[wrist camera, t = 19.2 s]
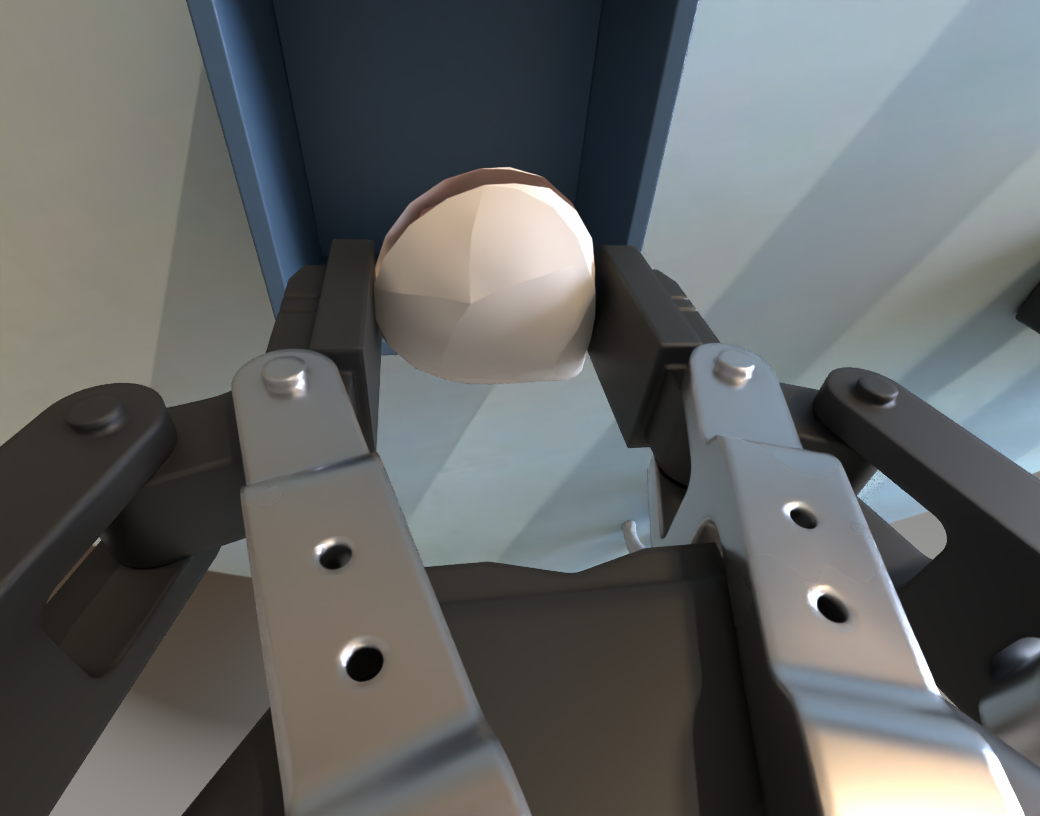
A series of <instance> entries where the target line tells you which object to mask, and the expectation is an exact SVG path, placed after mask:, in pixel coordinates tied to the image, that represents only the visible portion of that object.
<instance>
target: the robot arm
mask: <svg viewBox="0 0 1040 816" xmlns="http://www.w3.org/2000/svg"><path fill="white" fill-rule="evenodd" d="M594 264H595V320H594V325H593V331H592V336H591V340H590V343H589V347H588V350H587V352H588V354H589V356H590V359H591V361H592V364H593V366H594V368H595V371H596V373H597V375H598V378H599V380H600V383H601V385H602V387H603V390H604V392H605V395H606V397H607V399H608V402H609V404H610V407H611V409H612V411H613V414H614V416H615V419H616V421H617V423H618V426H619V428H620V431H621V433H622V435H623V438H624V440H625V443H626V445H627V447H628V448H641V447H651V450H652V452H653V456H652V459H651V461H650V464H649V467H648V470H647V479H648V498H649V517H650V537H651V548H644V549H641V550H638V551H636V552H633V553H630V554H627V555H625V556H622V557H619V558H616V559H614V560H611V561H608V562H605V563H603V564H600V565H597V566H594V567H592V568H589V569H586V570H584V571H580V572H577V573H564V572H557V571H550V570H543V569H536V568H529V567H522V566H515V565H509V564H502V563H495V562H478V563H467V564H455V565H444V566H432V567H424V565H423V563H422V560H421V558H420V555H419V553H418V550H417V548H416V545H415V543H414V540H413V538H412V535H411V532H410V530H409V527H408V525H407V522H406V520H405V517H404V515H403V512H402V510H401V507H400V505H399V502H398V500H397V497H396V495H395V492H394V490H393V487H392V485H391V482H390V480H389V477H388V475H387V472H386V469H385V467H384V465H383V462H382V460H381V458H380V456H379V454H378V453H377V452H376V447H377V427H378V406H379V386H380V366H381V345H382V336H381V334H380V331H379V328H378V325H377V322H376V317H375V304H374V290H373V287H374V284H375V282H376V273H375V266H376V254H375V245H374V240H366V239H333V240H332V244H331V249H330V254H329V258H328V263H327V265H304V266H303V267H302V268H301V269H300V270H298V271H297V272H296V273H295V274H294V275H293V276H291V277H290V278H289V279H288V283H287V286H286V289H285V292H284V298H283V299H282V302H281V305H280V312H278V315H277V318H276V321H275V324H274V328H273V331H272V334H271V337H270V341H269V344H268V347H267V350H266V353H265V354H263V355H260V356H258V357H256V358H254V359H252V360H250V361H249V362H247V363H246V364H244V365H243V366H242V367H241V368H240V369H239V370H238V371H237V372H236V374H235V375H234V377H233V380H232V383H231V389H232V390H231V391H229V392H227V393H224V394H222V395H219V396H216V397H212V398H208V399H204V400H200V401H196V402H191V403H187V404H182V405H178V406H174V407H169V408H166V406H165V404H164V402H163V399H162V397H161V396H160V395H159V394H158V393H157V392H156V391H155V390H153V389H151V388H149V387H146V386H143V385H139V384H132V383H113V384H105V385H100V386H95V387H91V388H87V389H84V390H81V391H78V392H76V393H73V394H71V395H69V396H67V397H64V398H62V399H61V400H59V401H57V402H56V403H54V404H52V405H51V406H50V407H48V408H47V409H46V410H44V411H43V412H42V413H41V414H39V415H38V416H37V417H36V418H35V419H33V420H32V421H31V422H30V423H29V424H27V425H26V426H25V427H24V428H22V429H21V430H20V431H19V432H18V433H16V434H15V435H14V436H13V437H12V438H10V439H9V440H8V441H7V442H6V443H4V444H3V445H2V446H1V447H0V816H49V814H50V812H51V811H52V809H53V808H54V806H55V805H56V803H57V802H58V800H59V799H60V797H61V795H62V794H63V792H64V791H65V789H66V788H67V786H68V785H69V783H70V782H71V780H72V778H73V777H74V775H75V774H76V772H77V770H78V769H79V768H80V766H81V765H82V763H83V761H84V760H85V758H86V757H87V755H88V754H89V752H90V751H91V749H92V748H93V746H94V744H95V743H96V741H97V740H98V738H99V737H100V735H101V733H102V732H103V731H104V729H105V727H106V726H107V724H108V723H109V721H110V720H111V718H112V717H113V715H114V714H115V712H116V710H117V709H118V707H119V706H120V704H121V703H122V701H123V700H124V698H125V696H126V695H127V693H128V692H129V690H130V689H131V687H132V686H133V684H134V683H135V681H136V679H137V678H138V676H139V675H140V673H141V672H142V670H143V669H144V667H145V666H146V664H147V662H148V661H149V659H150V658H151V656H152V655H153V653H154V652H155V650H156V649H157V647H158V645H159V644H160V642H161V641H162V639H163V637H164V636H165V635H166V633H167V631H168V630H169V628H170V627H171V625H172V624H173V622H174V621H175V619H176V618H177V616H178V615H179V613H180V611H181V610H182V608H183V607H184V605H185V604H186V602H187V601H188V599H189V598H190V596H191V594H192V593H193V591H194V590H195V588H196V587H197V585H198V584H199V582H200V580H201V579H202V577H203V576H204V574H205V573H206V571H207V570H208V568H209V567H210V565H211V564H212V562H213V560H214V559H215V557H216V556H217V554H218V552H219V550H220V548H221V546H223V545H226V544H229V543H232V542H235V541H238V540H241V539H244V538H246V540H247V547H248V554H249V561H250V568H251V575H252V582H253V588H254V596H255V603H256V609H257V617H258V623H259V631H260V637H261V645H262V652H263V658H264V665H265V672H266V678H267V686H268V693H269V700H270V708H269V709H268V710H267V711H266V713H265V714H264V715H263V716H262V717H261V719H260V720H259V721H258V722H257V723H256V725H255V726H254V727H253V729H252V730H251V731H250V732H249V733H248V735H247V736H246V737H245V738H244V740H243V741H242V742H241V743H240V745H239V746H238V747H237V748H236V749H235V750H234V752H233V753H232V754H231V756H230V757H229V758H228V759H227V760H226V762H225V763H224V764H223V765H222V766H221V768H220V769H219V770H218V771H217V773H216V774H215V775H214V776H213V778H212V779H211V780H210V781H209V782H208V784H207V785H206V786H205V787H204V789H203V790H202V791H201V792H200V794H199V795H198V796H197V797H196V799H195V800H194V801H193V802H192V803H191V805H190V806H189V807H188V808H187V809H186V811H185V812H184V813H183V814H182V816H1040V480H1039V479H1038V478H1036V477H1035V476H1033V475H1032V474H1030V473H1029V472H1027V471H1026V470H1025V469H1023V468H1022V467H1020V466H1019V465H1017V464H1016V463H1014V462H1013V461H1011V460H1010V459H1008V458H1007V457H1005V456H1004V455H1002V454H1001V453H1000V452H998V451H997V450H995V449H994V448H992V447H991V446H989V445H988V444H986V443H985V442H983V441H982V440H980V439H979V438H977V437H976V436H975V435H973V434H972V433H970V432H969V431H967V430H966V429H964V428H963V427H961V426H960V425H958V424H957V423H955V422H954V421H952V420H951V419H950V418H948V417H947V416H945V415H944V414H942V413H941V412H939V411H938V410H936V409H935V408H933V407H932V406H930V405H929V404H927V403H926V402H925V401H923V400H922V399H920V398H919V397H917V396H916V395H914V394H913V393H911V392H910V391H908V390H907V389H905V388H904V387H902V386H901V385H899V384H898V383H896V382H895V381H893V380H891V379H889V378H887V377H885V376H883V375H880V374H878V373H875V372H872V371H869V370H865V369H860V368H851V367H845V368H838V369H835V370H833V371H832V372H830V373H829V375H828V377H827V378H826V380H825V382H824V383H823V385H822V386H821V388H820V390H816V389H811V388H806V387H800V386H795V385H790V384H785V383H780V382H779V381H778V378H777V375H776V373H775V371H774V370H773V368H772V367H771V366H770V365H769V364H768V363H767V362H766V361H765V360H764V359H763V358H761V357H760V356H758V355H757V354H755V353H753V352H751V351H749V350H747V349H744V348H741V347H738V346H735V345H730V344H724V343H720V341H719V340H718V339H717V337H716V336H715V334H714V333H713V332H712V330H711V329H710V328H709V326H708V325H707V324H706V322H705V321H704V319H703V318H702V317H701V315H700V314H699V313H698V311H695V307H694V306H693V304H692V303H691V302H690V300H687V296H686V295H685V294H684V292H683V291H682V290H681V288H680V287H679V285H678V284H677V283H676V282H675V281H673V280H672V279H671V278H669V277H668V276H666V275H665V274H663V273H662V272H660V271H659V270H652V269H651V267H650V266H649V264H648V263H647V262H646V260H645V259H644V257H643V256H642V254H641V253H640V251H639V250H638V249H637V247H636V246H630V245H598V246H597V247H596V249H595V251H594ZM877 470H879V471H881V472H882V473H883V474H884V475H886V476H887V477H888V478H889V479H890V480H892V481H893V482H894V483H895V484H897V485H898V486H899V487H900V488H901V489H903V490H904V491H905V492H906V493H908V494H909V495H910V496H911V497H912V498H914V499H915V500H916V501H917V502H919V503H920V504H921V505H922V506H923V507H925V508H926V509H927V510H928V511H930V512H931V513H932V514H933V515H934V516H936V517H937V518H938V520H939V521H940V522H941V523H942V525H943V527H944V529H945V531H946V534H947V543H946V546H945V548H944V550H943V551H942V552H941V553H940V554H939V555H937V556H936V557H935V558H934V559H933V560H932V559H930V558H928V557H926V556H925V555H923V554H922V553H921V552H920V551H919V550H917V549H916V548H915V547H914V546H913V545H912V544H911V543H910V542H908V541H907V540H906V539H905V538H904V537H903V536H901V535H900V534H899V533H898V532H897V531H896V530H895V529H894V528H892V527H891V526H890V525H889V524H888V523H887V522H886V521H885V520H883V519H882V518H881V517H880V516H879V515H878V514H877V513H875V512H874V511H873V510H872V509H871V508H870V507H869V506H868V505H866V504H865V503H864V502H863V501H862V500H861V499H860V498H858V497H857V495H858V493H859V492H860V491H861V490H862V488H863V487H864V486H865V485H866V484H867V482H868V481H869V480H870V479H871V477H872V476H873V475H874V474H875V472H876V471H877ZM99 537H100V538H101V541H100V542H99V544H98V545H97V546H96V547H95V548H94V549H93V551H92V552H91V553H90V554H89V555H88V556H87V558H86V559H85V560H84V561H83V562H82V564H81V565H80V566H79V567H78V568H77V569H76V570H75V572H74V573H73V574H72V575H71V576H70V578H69V579H68V580H67V581H66V582H65V584H63V586H62V587H61V588H60V589H59V590H58V591H57V593H56V594H55V595H54V596H53V597H52V599H51V600H50V601H49V602H48V603H47V600H48V598H49V596H50V595H51V593H52V592H53V590H54V589H55V588H56V586H57V585H58V584H59V583H60V582H61V580H62V579H63V578H64V577H65V576H66V575H67V573H68V572H69V571H70V570H71V569H72V567H73V566H74V565H75V564H76V563H77V562H78V561H79V559H80V558H81V557H82V556H83V555H84V554H85V553H86V551H87V550H88V549H89V548H90V547H91V546H92V544H93V543H94V542H95V541H96V540H97V539H98V538H99ZM46 603H47V604H46ZM45 605H46V606H45ZM936 686H937V687H938V688H939V689H940V690H941V691H942V692H943V693H944V694H945V695H946V696H947V697H948V698H949V699H950V700H951V701H952V702H953V703H954V704H955V705H956V706H957V707H958V708H959V709H960V710H959V709H957V708H956V707H955V706H954V705H952V704H951V703H950V702H948V701H947V700H945V699H944V698H943V697H941V695H940V694H939V691H938V689H937V687H936Z"/></svg>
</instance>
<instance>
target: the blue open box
mask: <svg viewBox="0 0 1040 816" xmlns="http://www.w3.org/2000/svg"><path fill="white" fill-rule="evenodd" d="M186 2H187V5H188V9H189V13H190V16H191V20H192V23H193V27H194V30H195V34H196V38H197V41H198V45H199V48H200V52H201V55H202V59H203V63H204V66H205V70H206V73H207V77H208V81H209V84H210V88H211V91H212V95H213V98H214V102H215V106H216V109H217V113H218V116H219V120H220V123H221V127H222V131H223V134H224V138H225V141H226V145H227V148H228V152H229V156H230V159H231V163H232V166H233V170H234V174H235V177H236V181H237V184H238V188H239V191H240V195H241V199H242V202H243V206H244V209H245V213H246V216H247V220H248V224H249V227H250V231H251V234H252V238H253V241H254V245H255V249H256V252H257V256H258V259H259V263H260V266H261V270H262V274H263V277H264V281H265V284H266V288H267V292H268V295H269V299H270V302H271V306H272V309H273V313H274V317H275V320H276V318H277V315H278V312H280V305H281V302H282V299H283V298H284V292H285V289H286V286H287V283H288V279H289V278H290V277H291V276H293V275H294V274H295V273H296V272H297V271H298V270H300V269H301V268H302V267H303V266H304V265H327V263H328V258H329V254H330V249H331V244H332V240H333V239H366V240H374V245H375V254H376V263H377V260H378V257H379V254H380V251H381V248H382V245H383V242H384V239H385V236H386V235H387V233H388V232H389V231H390V229H391V228H392V227H393V225H394V224H395V223H396V221H397V220H398V219H399V217H400V216H401V214H402V213H403V212H404V210H405V209H406V208H407V206H408V205H409V204H410V203H411V202H413V201H414V200H415V199H417V198H418V197H420V196H421V195H423V194H424V193H426V192H427V191H428V190H430V189H431V188H433V187H434V186H436V185H437V184H439V183H440V182H442V181H443V180H444V179H448V178H451V177H454V176H457V175H461V174H464V173H467V172H470V171H474V170H477V169H481V168H501V167H511V168H514V169H518V170H521V171H524V172H528V173H531V174H535V175H538V176H542V177H544V178H545V179H547V180H548V181H549V182H550V183H551V184H552V185H553V186H554V187H555V188H556V189H557V190H559V191H560V192H561V193H562V194H563V195H564V196H565V197H566V198H567V199H568V200H569V201H571V202H572V204H573V206H574V207H575V209H576V211H577V213H578V215H579V216H580V218H581V220H582V222H583V224H584V225H585V227H586V229H587V231H588V232H589V234H590V236H591V238H592V244H593V254H594V251H595V249H596V247H597V246H598V245H630V246H636V247H637V249H638V250H639V251H640V253H641V251H642V247H643V242H644V238H645V234H646V229H647V225H648V221H649V216H650V212H651V208H652V203H653V199H654V195H655V190H656V186H657V182H658V177H659V173H660V169H661V164H662V160H663V156H664V151H665V147H666V142H667V138H668V134H669V129H670V125H671V121H672V116H673V112H674V108H675V103H676V99H677V95H678V90H679V86H680V82H681V77H682V73H683V69H684V64H685V60H686V56H687V51H688V47H689V43H690V38H691V34H692V30H693V25H694V21H695V17H696V12H697V8H698V4H699V0H186ZM381 355H399V354H398V353H396V352H395V351H394V350H393V349H391V348H390V347H389V346H388V344H387V343H386V342H385V340H384V339H383V338H382V345H381Z"/></svg>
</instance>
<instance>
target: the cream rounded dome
mask: <svg viewBox="0 0 1040 816" xmlns="http://www.w3.org/2000/svg"><path fill="white" fill-rule="evenodd" d="M375 273H376V282H375V284H374V287H373V290H374V304H375V317H376V322H377V325H378V328H379V331H380V334H381V336H382V338H383V339H384V340H385V342H386V343H387V344H388V346H389V347H390V348H391V349H393V350H394V351H395V352H396V353H398V354H399V355H400V356H401V357H403V358H404V359H405V360H406V361H407V362H409V363H410V364H411V365H412V366H414V367H415V368H416V369H419V370H421V371H424V372H427V373H429V374H432V375H435V376H437V377H440V378H443V379H446V380H451V381H457V382H462V383H468V384H510V383H522V382H533V381H556V380H566V379H572V378H573V377H575V376H577V375H578V374H579V373H580V372H581V370H582V368H583V366H584V362H585V358H586V354H587V350H588V347H589V343H590V340H591V336H592V331H593V325H594V320H595V264H594V254H593V244H592V238H591V236H590V234H589V232H588V231H587V229H586V227H585V225H584V224H583V222H582V220H581V218H580V216H579V215H578V213H577V211H576V209H575V207H574V206H573V204H572V202H571V201H569V200H568V199H567V198H566V197H565V196H564V195H563V194H562V193H561V192H560V191H559V190H557V189H556V188H555V187H554V186H553V185H552V184H551V183H550V182H549V181H548V180H547V179H545V178H544V177H542V176H538V175H535V174H531V173H528V172H524V171H521V170H518V169H514V168H511V167H501V168H481V169H477V170H474V171H470V172H467V173H464V174H461V175H457V176H454V177H451V178H448V179H444V180H443V181H442V182H440V183H439V184H437V185H436V186H434V187H433V188H431V189H430V190H428V191H427V192H426V193H424V194H423V195H421V196H420V197H418V198H417V199H415V200H414V201H413V202H411V203H410V204H409V205H408V206H407V208H406V209H405V210H404V212H403V213H402V214H401V216H400V217H399V219H398V220H397V221H396V223H395V224H394V225H393V227H392V228H391V229H390V231H389V232H388V233H387V235H386V236H385V239H384V242H383V245H382V248H381V251H380V254H379V257H378V260H377V263H376V266H375Z"/></svg>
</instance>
